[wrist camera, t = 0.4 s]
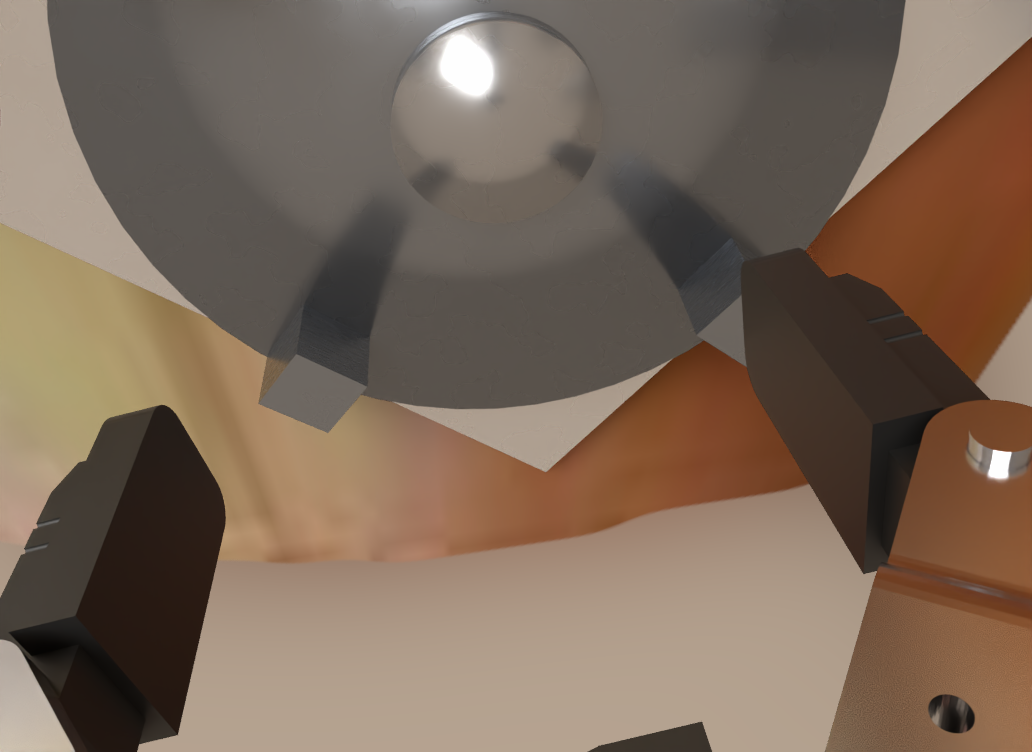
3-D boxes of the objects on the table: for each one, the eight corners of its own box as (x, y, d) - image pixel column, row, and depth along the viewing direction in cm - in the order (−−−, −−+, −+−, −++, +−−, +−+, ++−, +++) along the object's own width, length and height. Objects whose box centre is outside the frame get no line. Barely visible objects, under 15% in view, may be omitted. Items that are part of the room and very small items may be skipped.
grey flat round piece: (351, -856, 16) (334, -1007, 12) (1033, 7, 29) (1128, 64, 25) (-46, 179, 30) (-113, 261, 26) (543, 455, 43) (556, 536, 39)
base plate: (334, -966, 16) (310, -1162, 12) (1051, -17, 31) (1150, 38, 26) (-71, 162, 31) (-143, 243, 27) (542, 451, 45) (555, 532, 41)
